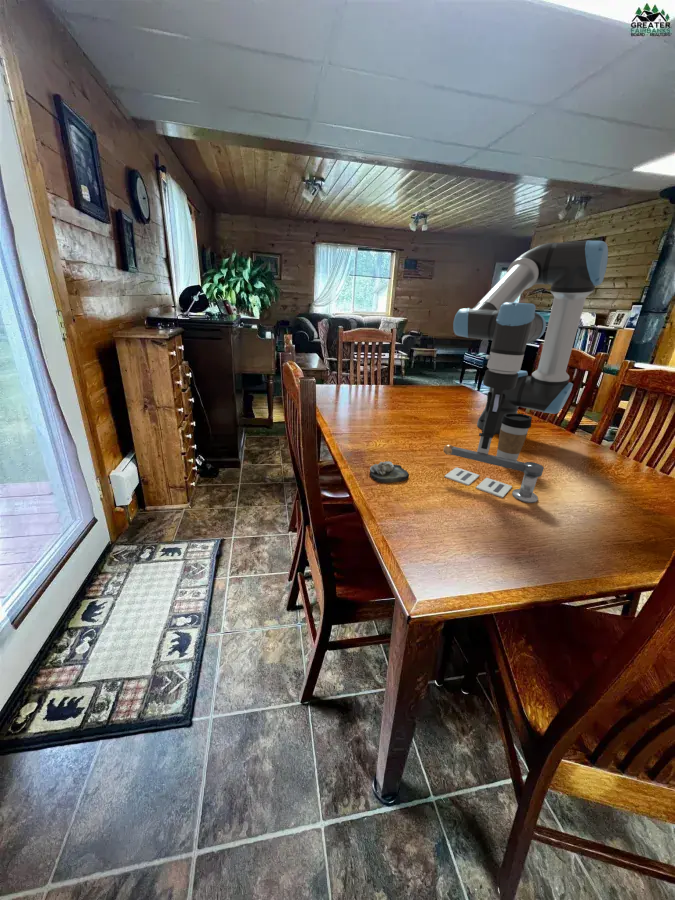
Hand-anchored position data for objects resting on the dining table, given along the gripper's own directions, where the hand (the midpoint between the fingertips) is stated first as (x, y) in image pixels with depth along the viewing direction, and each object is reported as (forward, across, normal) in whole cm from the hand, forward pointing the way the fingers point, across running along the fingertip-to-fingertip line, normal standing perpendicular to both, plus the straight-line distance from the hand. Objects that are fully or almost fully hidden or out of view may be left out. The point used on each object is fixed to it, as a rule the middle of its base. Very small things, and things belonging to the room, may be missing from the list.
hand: (481, 457), depth 95 cm
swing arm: (0, +2, +2) cm, 3 cm away
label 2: (+7, +2, +5) cm, 9 cm away
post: (+7, +4, +12) cm, 14 cm away
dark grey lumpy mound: (+8, +7, -23) cm, 26 cm away
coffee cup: (+7, -20, +9) cm, 23 cm away
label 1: (+7, -1, -4) cm, 8 cm away
